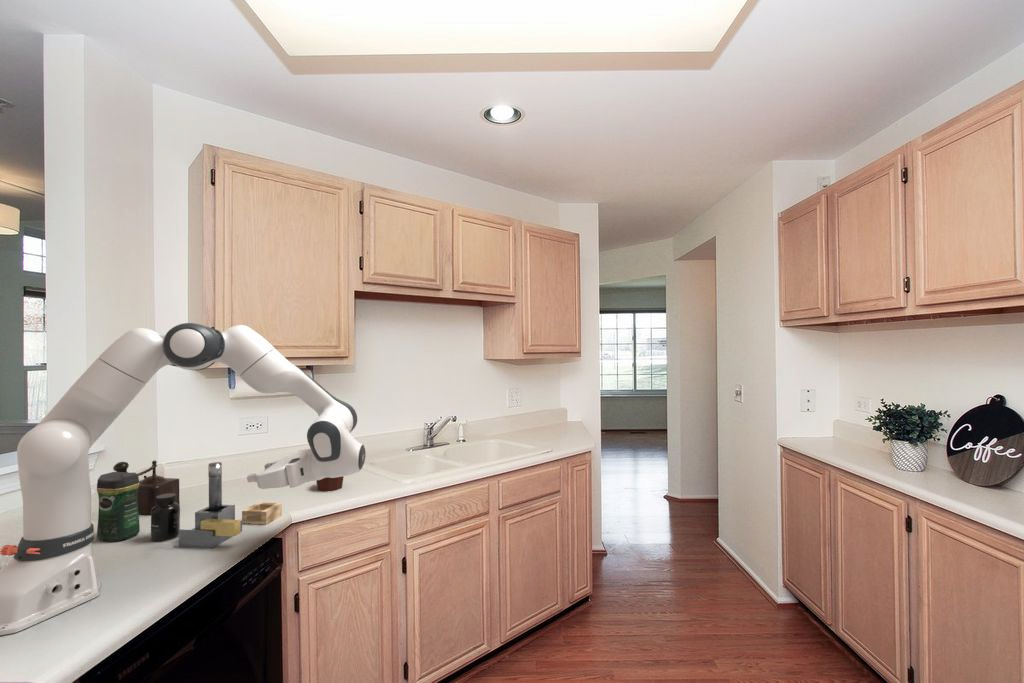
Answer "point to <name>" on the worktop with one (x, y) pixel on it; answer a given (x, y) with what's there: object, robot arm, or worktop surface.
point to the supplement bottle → (165, 518)
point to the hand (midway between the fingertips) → (257, 472)
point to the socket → (204, 537)
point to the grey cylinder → (215, 486)
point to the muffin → (330, 483)
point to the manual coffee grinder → (151, 487)
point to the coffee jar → (118, 506)
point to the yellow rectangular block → (221, 527)
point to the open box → (262, 513)
